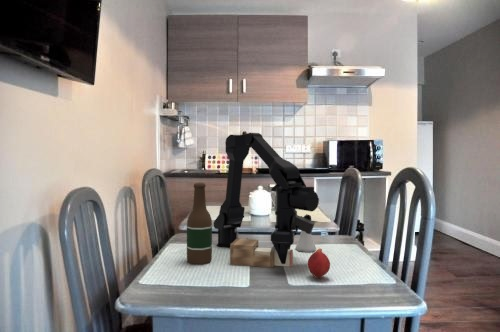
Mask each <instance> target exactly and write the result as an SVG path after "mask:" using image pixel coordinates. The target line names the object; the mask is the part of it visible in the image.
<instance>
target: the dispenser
mask: <svg viewBox="0 0 500 332" xmlns="http://www.w3.org/2000/svg"><path fill="white" fill-rule="evenodd" d="M255 247H257V248H259V239H256V238H239V237H238V238H237V239H236V240H235V241H233V242H232V243H231V244H230V247H229V249H230V250H229V253H230V254H229V265H232V266H233V265H234V266H245V267H246V266H248V267H259V268H260V267H263V268H271V269H273V268H274V267H275V266H274V251H275V247H274V245H272V249H271V252H270V256H267V255H254V248H255Z"/></svg>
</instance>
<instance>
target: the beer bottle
mask: <svg viewBox="0 0 500 332" xmlns="http://www.w3.org/2000/svg"><path fill="white" fill-rule="evenodd" d="M192 187H193V192H194V193H193V203H192V210H191V212H190V213H189V215H188V217H187V222H186V261H187V263H189V264H191V265H195V266H197V265H198V266H199V265H201V266H202V265H205V264H210V262H211V261H212V258H213V257H212V256H213V255H212V254H213V223H212V222H213V220H212V217H211V213H210V212H209V211H208V209H207V203H206V183H205V182H195V183H193V186H192Z"/></svg>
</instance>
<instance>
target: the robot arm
mask: <svg viewBox="0 0 500 332" xmlns="http://www.w3.org/2000/svg"><path fill="white" fill-rule="evenodd" d="M224 143H225V154H226V156H227V158H228V171H227V181H226V192H225V200H224V201H223V203H222V204H221V205H220V207H219V213H218V215H217V217H216V218H215V219H214V221H213V227H214V229H215V230H217V244H216V247H225V248H230V244H231V243H232V242H233V241H235V240H236V239H237V238H239V231H238V228H241V226H242V223H243V220H244V218H245V206H243V205H242V203H241V201H240V199H241V189H242V181H243V171H244V170H243V169H244V161H245V160H246V158H247V157H248V155H249V153H250V149H252V150H253V151H254V152H255V153H256V155H258V157H259V158H260V159H261V160H262V161H263V163H265V165H266V166H267V168H268V172H269V175H270V177H271V179H272V180H273V182H274V183H275V184H274V186H273V187H271V189H270V190H271V192H276V194H275V195H276V196H275V202H276V203H275V211H274V215H275V224H274V230H273V231H272V232H271V234H270V242H271V243H272V246H274V247H275V249H276V252H277V254H278V256H279V259H280V261H281V263H282V264H285V263H286V258H287V253H288V249H290V250H291V246H292V245H294V242H295V236H297V233H298V232H299V230H300V231H301V230H302V231H304V232H306V233H307V234H311V235H312V232H313V229H314V226H315V224H316V222H315V220H312V216H311V215H310V214H307V213H306V214H304V216H302V215H301V216H300V215H298V210H300V211H301V210H302V211H306V212H315V211H316V210H317V209H318V207H319V202H320V198H319V196H318V194H317V192H316V191H315V187H314V186H307V185H306V183H305V180H303V177H302V176H301V174H300V169H299V168H298V166H296V165H295V164H294V163H292V162H291V161H290V160H287V159H284V158H283V157H281V156H280V155H279V154H278V152H276V150H275V149H274V148H273V147H272V145H270V144H269V143H268V141H267V140H266V139H265V138H264V137H263V135H262V134H261V133H259V132H248V133H245V134H229V135H228V136H227V137H226V138H225V141H224Z"/></svg>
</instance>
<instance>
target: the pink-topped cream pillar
mask: <svg viewBox="0 0 500 332" xmlns="http://www.w3.org/2000/svg"><path fill="white" fill-rule="evenodd" d="M272 248H273V247H272ZM272 248H271V247H258V248H257V247H255V248H254V255H267V256H270V252H271V249H272ZM293 263H294V250H293V249H291V248H290V249H288V253H287V258H286V263H285V264H282V263H281V261H280V259H279V256H278V254H277V252H276V249H275V251H274V267H275V266H276V267H291V268H292V267H293Z"/></svg>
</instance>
